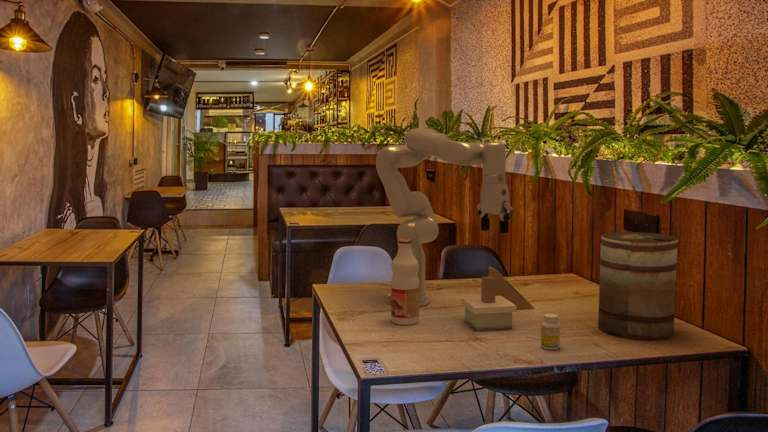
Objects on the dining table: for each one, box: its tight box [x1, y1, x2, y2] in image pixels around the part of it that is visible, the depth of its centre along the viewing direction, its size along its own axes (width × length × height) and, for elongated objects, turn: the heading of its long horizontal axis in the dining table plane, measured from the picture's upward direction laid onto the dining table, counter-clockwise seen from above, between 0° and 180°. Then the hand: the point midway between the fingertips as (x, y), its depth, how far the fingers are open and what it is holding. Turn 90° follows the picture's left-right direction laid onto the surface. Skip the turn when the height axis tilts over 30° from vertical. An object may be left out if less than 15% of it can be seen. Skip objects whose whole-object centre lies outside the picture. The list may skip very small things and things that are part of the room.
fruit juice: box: [390, 239, 420, 326], centre depth 214 cm, size 9×9×28 cm
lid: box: [460, 275, 517, 314], centre depth 210 cm, size 14×14×10 cm
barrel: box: [597, 231, 679, 342], centre depth 203 cm, size 22×22×30 cm
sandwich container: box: [488, 266, 536, 311], centre depth 233 cm, size 9×15×15 cm, turn 100°
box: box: [464, 306, 513, 332], centre depth 211 cm, size 12×12×7 cm
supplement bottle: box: [540, 313, 561, 351], centre depth 187 cm, size 5×5×10 cm
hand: (494, 231), depth 213 cm, fingers open, 9 cm apart
